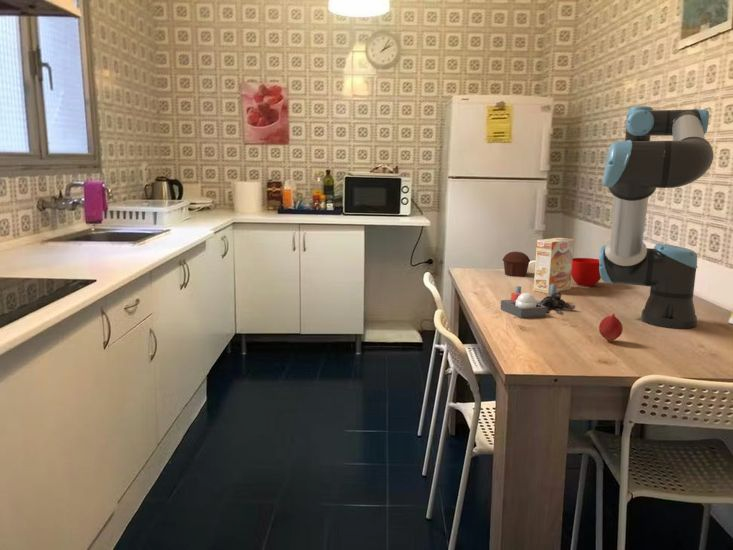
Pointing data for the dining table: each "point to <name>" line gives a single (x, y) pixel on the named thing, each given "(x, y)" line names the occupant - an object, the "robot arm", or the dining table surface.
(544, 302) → the stuffed animal
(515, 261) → the muffin
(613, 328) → the onion
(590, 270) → the ceramic cup
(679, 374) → the dining table surface
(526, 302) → the dome
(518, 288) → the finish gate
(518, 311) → the dome base
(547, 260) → the coffeecake box
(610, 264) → the robot arm
